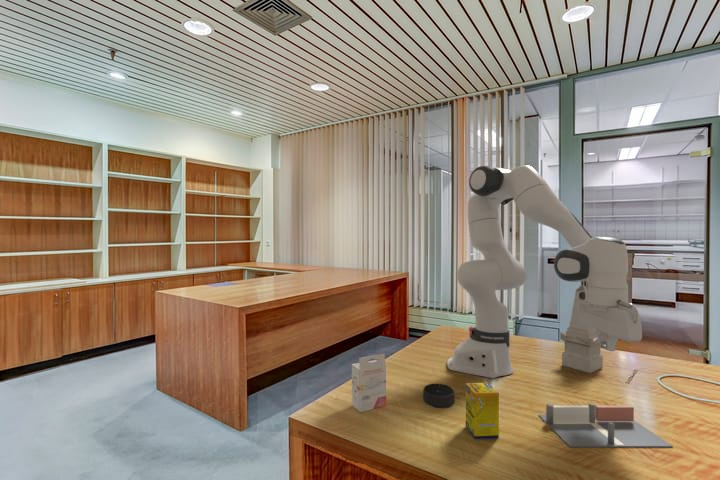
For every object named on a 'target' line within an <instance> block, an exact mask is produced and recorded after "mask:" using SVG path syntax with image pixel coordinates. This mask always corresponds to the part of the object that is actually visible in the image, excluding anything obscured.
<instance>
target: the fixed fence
mask: <svg viewBox="0 0 720 480" xmlns="http://www.w3.org/2000/svg"><path fill="white" fill-rule="evenodd" d="M545 406H546V407H545V409H546V411H545V415H546V422H547V423H549V424H553V423H589V422H590V423H595V406H596V404H595V403H592V402H591V403H588V405H553V404H550V403H546V405H545ZM608 442H609V443H611V444H614V423H611V422H608Z"/></svg>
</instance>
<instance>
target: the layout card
mask: <svg viewBox="0 0 720 480" xmlns="http://www.w3.org/2000/svg"><path fill="white" fill-rule="evenodd" d="M538 417H539V418H540V419H541V420H542V421H543V422H544V423H545V424H546V425H547V426H548V427H549V428H550V429H551V430H552V431H553V432H554V433H555V434H556V436H558V437H559V438H560V439H561V440H562V441H563V442H564V443H565V444H566V445H567V446H568V447H569V448H674V446H673V445H672V444H670V443H669V442H667V441H666V440H665V439H663V438H661V437H660V436H659V435H657V434H656V433H654V432H652V431H651V430H649V429H648V428H647V427H645V426H643V425H642V424H640V423H639V422H638V421H636V420H635V419H634V421H597V420H595V423H590V422H589V423H553V424H549V423H547V422H546V414H538ZM608 422H611V423H614V444H611V443H609V442H608Z"/></svg>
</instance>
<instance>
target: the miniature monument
mask: <svg viewBox="0 0 720 480" xmlns="http://www.w3.org/2000/svg"><path fill="white" fill-rule="evenodd" d="M586 289H588V287H586V286H585V284H581V285H580V286H579V287H578V288H576V289H575V294H574V297H573V298H574V300H573V303H572V304H573V305H572V310H571V315H570V322H569V327H567V328H566V331H565V332H564V333H563V332H561V331H560V334H559V335H560V336H559V337H560V338H559V339H560V340H562V341H564V351H563V352H562V354H561V365H562V366H563V367H567V368H571V369H574V370H578V371H581V372H585V373H588V374H592V373H594V372H596V371H599V370H601V369H603V368H604V367H603V365H604V364H603V363H604V362H603V361H604V356H603V354H602V353H601V347H600V341H599V338H598V336H597V330H596V329H593V328H591V327H588V326H586V325H583V324H581V323H580V321H579V318H578V303H579V300H580V299H578V297H577V293H578V292H579V291H583V290H586Z"/></svg>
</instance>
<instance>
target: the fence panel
mask: <svg viewBox="0 0 720 480" xmlns="http://www.w3.org/2000/svg"><path fill="white" fill-rule="evenodd" d="M634 415H635V407H633V406H632V405H595V420H597V421H634V420H635V418H634V417H635V416H634Z"/></svg>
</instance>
